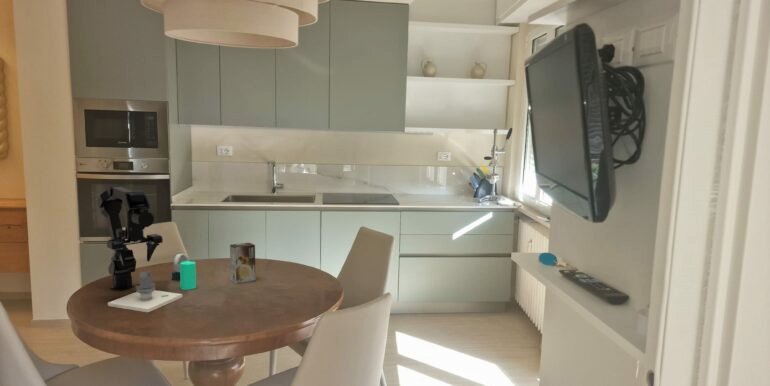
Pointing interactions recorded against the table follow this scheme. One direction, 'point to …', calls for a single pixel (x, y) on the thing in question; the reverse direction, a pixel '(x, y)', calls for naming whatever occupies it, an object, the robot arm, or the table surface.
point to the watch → (177, 259)
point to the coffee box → (242, 262)
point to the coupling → (145, 283)
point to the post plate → (145, 300)
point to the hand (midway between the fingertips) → (136, 263)
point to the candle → (187, 275)
